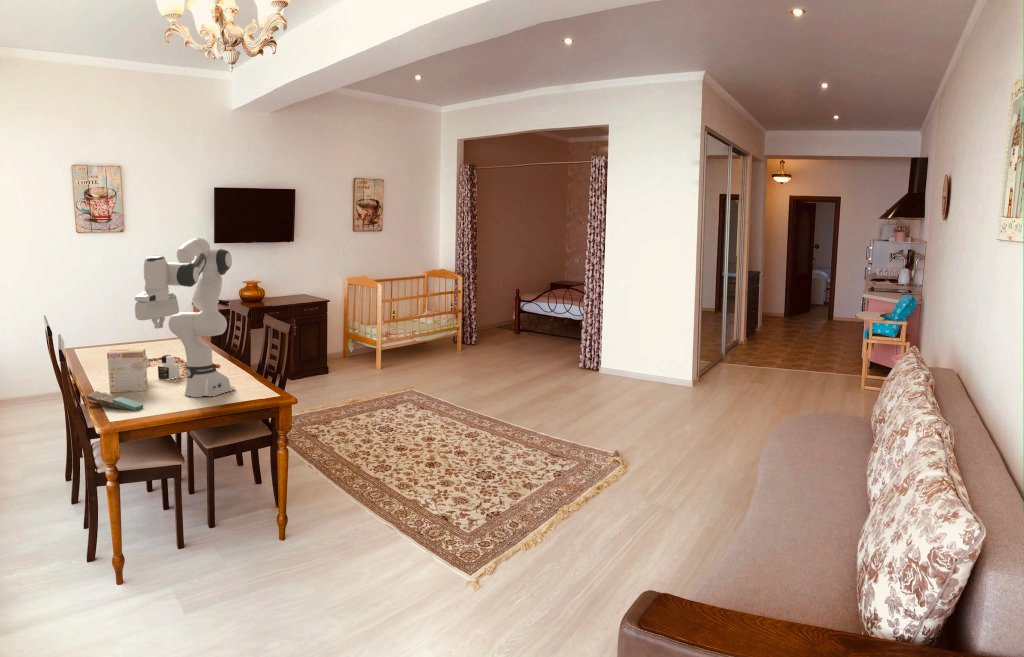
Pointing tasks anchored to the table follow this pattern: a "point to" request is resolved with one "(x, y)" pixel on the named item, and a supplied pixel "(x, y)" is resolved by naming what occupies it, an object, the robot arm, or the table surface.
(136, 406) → the teal domino
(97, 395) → the walnut domino
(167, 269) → the robot arm
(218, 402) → the table surface
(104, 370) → the table surface
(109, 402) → the walnut domino
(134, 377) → the coffeecake box
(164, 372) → the medicine bottle
